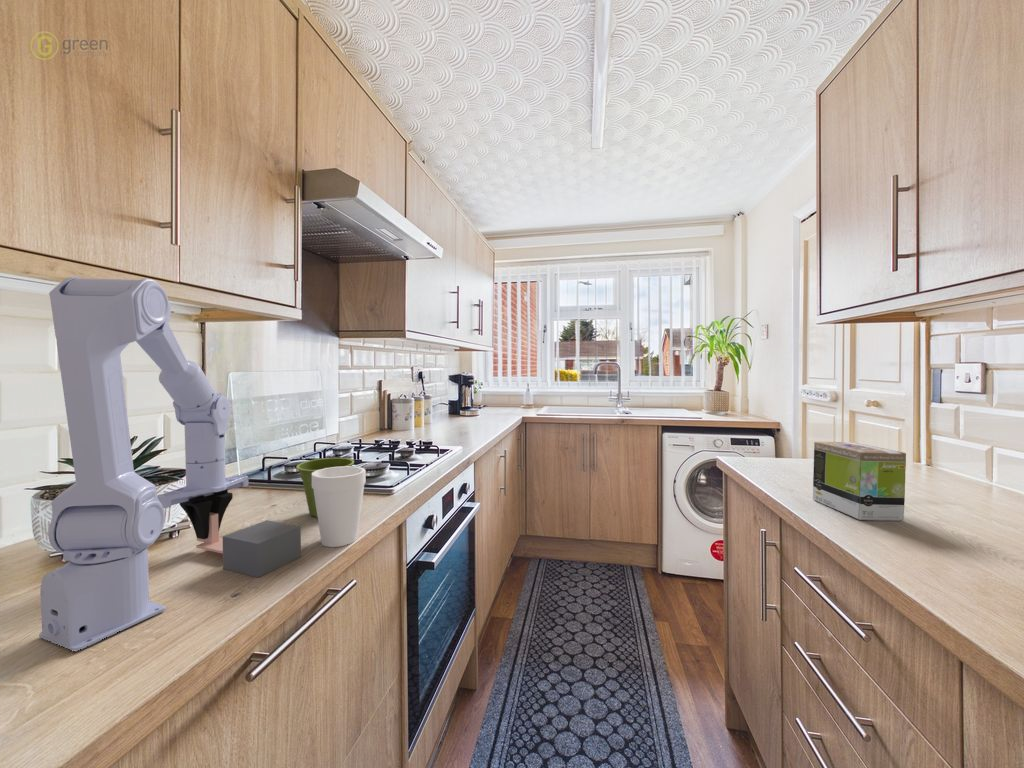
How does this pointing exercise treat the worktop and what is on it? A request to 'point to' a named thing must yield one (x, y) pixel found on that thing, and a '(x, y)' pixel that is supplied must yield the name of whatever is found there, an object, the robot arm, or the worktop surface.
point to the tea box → (860, 480)
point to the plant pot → (313, 465)
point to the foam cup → (338, 503)
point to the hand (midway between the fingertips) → (207, 536)
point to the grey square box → (261, 548)
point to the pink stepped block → (212, 536)
